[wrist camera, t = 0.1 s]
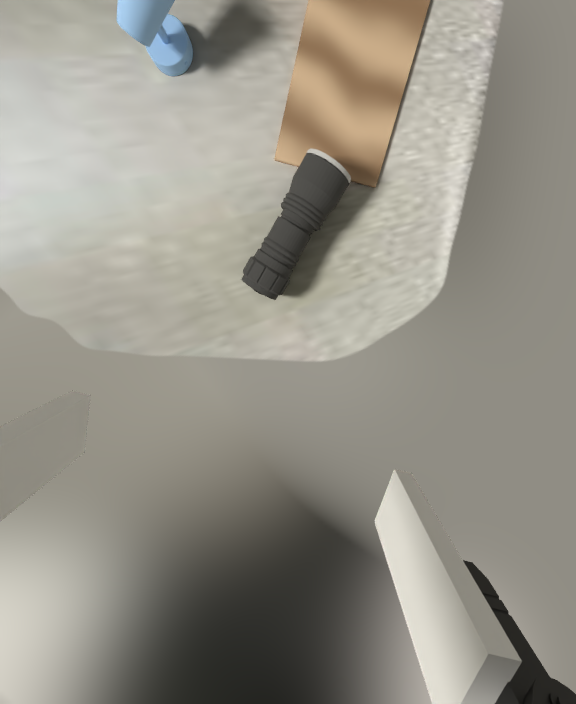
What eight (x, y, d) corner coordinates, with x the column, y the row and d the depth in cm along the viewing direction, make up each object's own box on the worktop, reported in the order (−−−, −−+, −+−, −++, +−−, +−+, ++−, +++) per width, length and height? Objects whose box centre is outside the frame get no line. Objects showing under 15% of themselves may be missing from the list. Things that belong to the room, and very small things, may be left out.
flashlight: (278, 301, 39) (275, 306, 34) (241, 279, 38) (232, 280, 33) (347, 187, 35) (355, 172, 30) (307, 160, 35) (308, 140, 30)
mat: (321, -58, 31) (322, -62, 30) (436, -24, 31) (438, -28, 31) (274, 160, 35) (274, 159, 35) (375, 187, 36) (375, 186, 35)
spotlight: (176, -1, 32) (137, 58, 33) (123, -123, 22) (72, -33, 24) (212, 37, 33) (173, 93, 34) (177, -65, 23) (124, 19, 24)
